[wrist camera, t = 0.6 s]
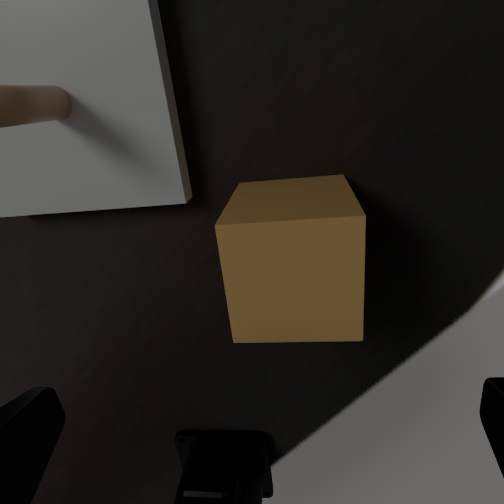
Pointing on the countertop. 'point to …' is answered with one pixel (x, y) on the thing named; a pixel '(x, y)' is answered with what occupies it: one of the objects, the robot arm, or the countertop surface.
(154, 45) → the post plate
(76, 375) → the countertop surface
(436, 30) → the countertop surface
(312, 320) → the cardboard carton
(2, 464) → the robot arm
